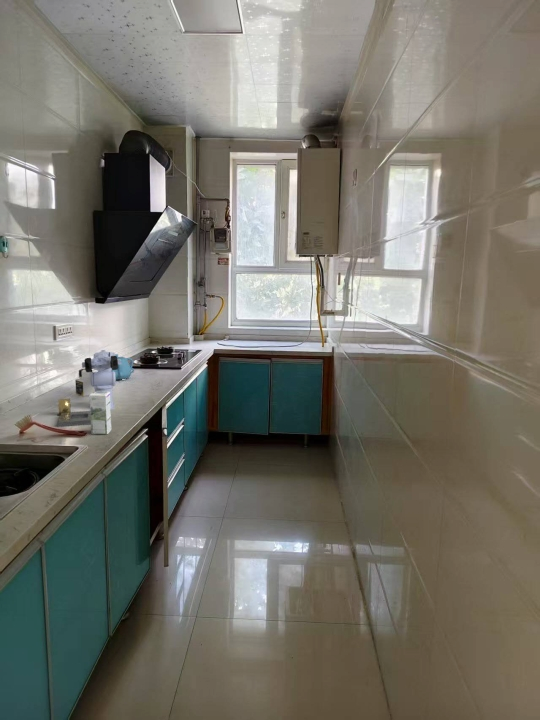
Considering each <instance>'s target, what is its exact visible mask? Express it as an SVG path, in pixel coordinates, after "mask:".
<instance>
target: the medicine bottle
mask: <svg viewBox="0 0 540 720" xmlns="http://www.w3.org/2000/svg"><path fill="white" fill-rule="evenodd" d="M92 372H93V371H92ZM92 372H86V370H85V368H81V369H79V370H78V378H75V380H74V381H75V394H76V395H78V396H82V397H89V396H90V394H91V393H93V392H95V389H94V387H92V386H91V373H92ZM88 395H89V396H88Z"/></svg>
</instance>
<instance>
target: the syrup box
mask: <svg viewBox="0 0 540 720" xmlns="http://www.w3.org/2000/svg"><path fill="white" fill-rule="evenodd" d="M89 407H90V408H89V409H90V410H89V411H90V414H91V425H90V432H91V435H108V434H109V433H110V432H111V431H112V415H111V410H110V392H93V393H91V394H90V395H89Z"/></svg>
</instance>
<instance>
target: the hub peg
mask: <svg viewBox="0 0 540 720" xmlns="http://www.w3.org/2000/svg"><path fill="white" fill-rule="evenodd" d="M57 402H58V414H59V415H60V416H61V413H64V412H72V411H71V409H72V408H71V399H70V398H67V397H66V398H65V397H64V398H60V399H58V401H57ZM60 416H59V417H60Z"/></svg>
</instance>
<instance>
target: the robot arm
mask: <svg viewBox="0 0 540 720" xmlns="http://www.w3.org/2000/svg"><path fill="white" fill-rule="evenodd" d="M115 354H116V353H115V352H112V351H106V350H105V349H101V350H100V351H99V352H94V354H93V358H91V357H86V358H84V360H83V362H81V369H85V370H86V372H92V373H91V386H92V387H94V389H95V392H110V411H111V410H115V402H114V392H113V391H114V387H115V386H116V383H117V380H116V379H115V372H114V371H113V372H111V370H117V369H118V365H121V360H120V359H117V356H116V355H115ZM93 370H95V372H94V371H93ZM98 371H99V372H98Z"/></svg>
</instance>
